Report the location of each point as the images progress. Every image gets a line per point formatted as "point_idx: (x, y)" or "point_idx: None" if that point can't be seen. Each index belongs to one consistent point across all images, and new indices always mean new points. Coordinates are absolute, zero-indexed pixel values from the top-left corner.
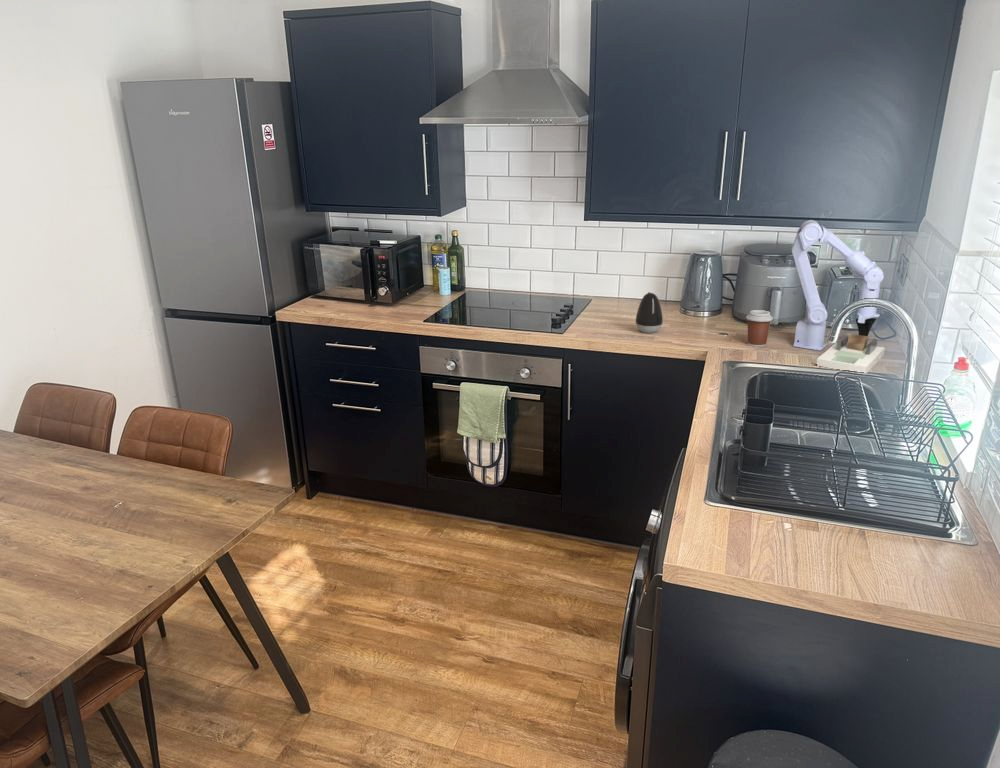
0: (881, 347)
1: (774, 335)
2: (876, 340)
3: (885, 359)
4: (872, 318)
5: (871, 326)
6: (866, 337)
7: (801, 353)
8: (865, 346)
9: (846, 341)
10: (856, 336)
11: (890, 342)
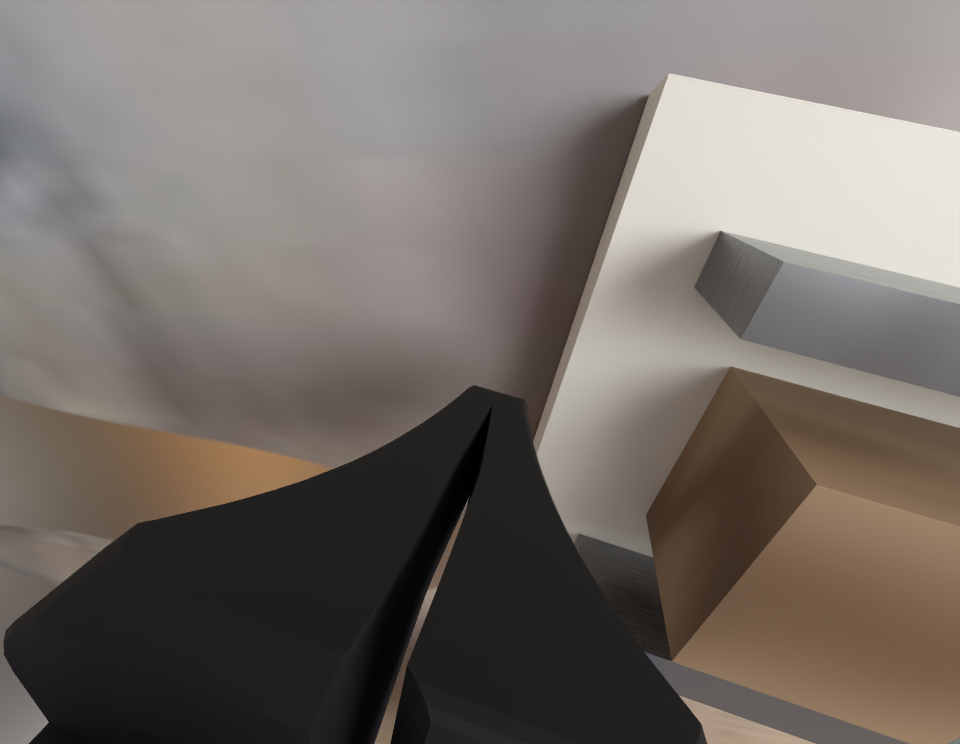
0: (672, 139)
1: (380, 736)
2: (902, 290)
3: (951, 53)
4: (72, 703)
5: (366, 485)
6: (943, 532)
7: (756, 736)
8: (850, 414)
9: (647, 590)
10: (854, 657)
11: (36, 23)
